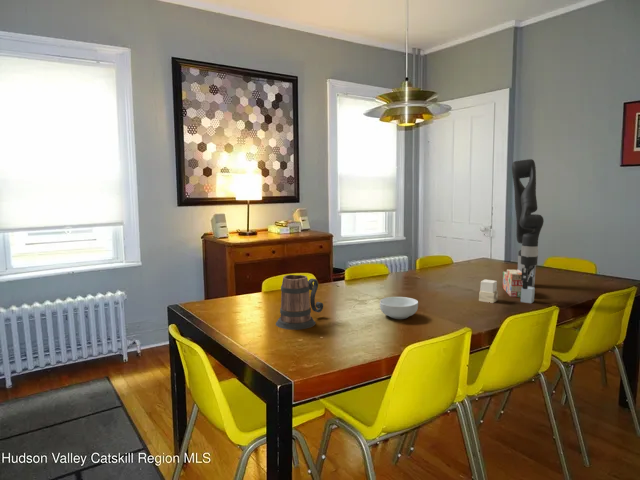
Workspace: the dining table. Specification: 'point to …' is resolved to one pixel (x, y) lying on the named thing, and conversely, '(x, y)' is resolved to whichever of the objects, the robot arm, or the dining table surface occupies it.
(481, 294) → the tower base
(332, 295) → the dining table surface
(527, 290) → the slate block
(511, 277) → the printed cardboard box
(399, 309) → the cereal bowl
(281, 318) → the tankard
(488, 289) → the tower middle
